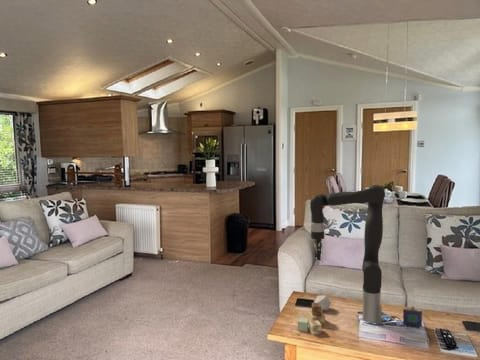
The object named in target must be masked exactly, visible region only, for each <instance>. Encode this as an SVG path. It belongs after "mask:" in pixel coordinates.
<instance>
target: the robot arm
mask: <svg viewBox="0 0 480 360" xmlns="http://www.w3.org/2000/svg"><path fill="white" fill-rule="evenodd" d="M385 198H386V192H385V189H384V188H383V186H381V185H379V184H373V185H370V186H369V187H368V188H366V189H362V190H356V191H339V192H331V193H322V194H315V195H313V197H311V199H310V202H309V203H310V204H309V205H310V214H311V218H310V219H311V220H310V222H311V223H310V238H311V239H312V240H314V241H313V245H314V246H313V247H314V254H315V255H314V256H315V257H316V260H317V261H321V260H322V258H321V256H322V246H323V245H322V240H324V239H325V216H324V211H323V210H324V209H323V207H325V206H327V207H328V206H331V207H333V206H343V205H349V204H350V205H351V204H357V203H367V214H366V219H365V225H364V234H363V235H364V237H363V238H364V255H363V261H362V267H361V269H362V273H363V284H362V321H363V320H364V321H366V322H369V323H378V322H381V323H382V321H383V320H382V319H383V318H382V312H383V310H382V309H383V307H382V305H381V296H382V295H381V293H382V292H381V289H382V273H383V272H382V268H381V267H380V263H379V254H380V253H379V251H380V248H381V245H382V240H383V235H384V233H383V232H384V231H383V230H384V223H383V222H384V221H383V220H384V218H383V205H384V200H385ZM364 321H363V322H364ZM366 322H365V323H366Z"/></svg>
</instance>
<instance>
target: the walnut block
mask: <svg viewBox="0 0 480 360" xmlns="http://www.w3.org/2000/svg"><path fill="white" fill-rule="evenodd" d="M311 311H312V315H316V316H322V313H323V311H322V307H321V303H315V302H311Z"/></svg>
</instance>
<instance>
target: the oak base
mask: <svg viewBox="0 0 480 360" xmlns="http://www.w3.org/2000/svg"><path fill="white" fill-rule="evenodd" d="M317 320H318V321H319V322H320V324H321V326H326V316H325V313H323V312H322V316H316V315H312V310H311V311H309V312H308V321H317Z"/></svg>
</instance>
